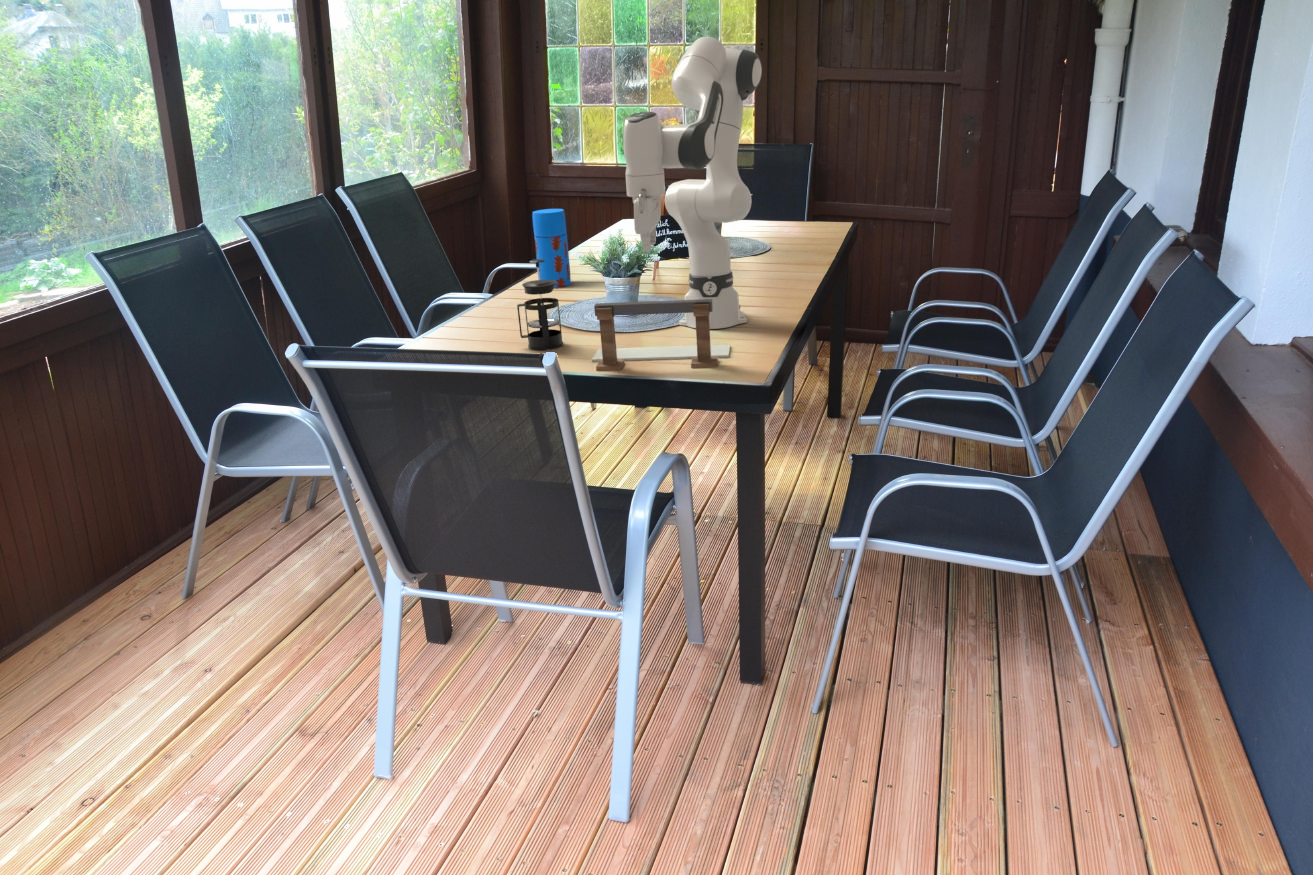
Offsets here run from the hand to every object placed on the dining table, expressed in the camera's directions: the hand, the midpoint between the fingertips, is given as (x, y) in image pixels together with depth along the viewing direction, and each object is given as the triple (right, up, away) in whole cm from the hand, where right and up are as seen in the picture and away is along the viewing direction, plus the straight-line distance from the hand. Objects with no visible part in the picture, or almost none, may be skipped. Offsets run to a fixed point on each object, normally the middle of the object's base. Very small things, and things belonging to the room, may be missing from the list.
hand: (649, 247), depth 237 cm
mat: (+3, -23, +19) cm, 30 cm away
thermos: (-33, +8, +112) cm, 117 cm away
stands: (+2, -27, +10) cm, 28 cm away
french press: (-28, -20, +35) cm, 49 cm away
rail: (+1, -14, +5) cm, 15 cm away
